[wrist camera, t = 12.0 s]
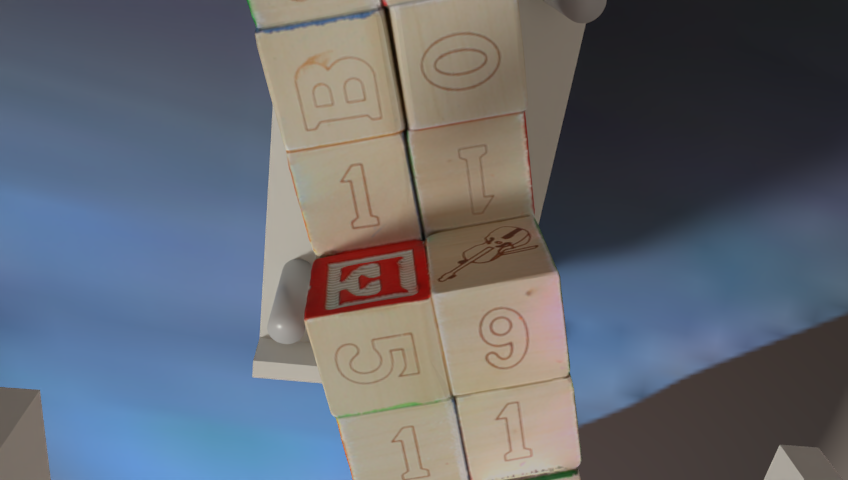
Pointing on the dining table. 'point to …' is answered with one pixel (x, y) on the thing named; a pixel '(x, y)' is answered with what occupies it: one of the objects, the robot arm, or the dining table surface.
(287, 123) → the stack of blocks
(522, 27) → the rack with pegs
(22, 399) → the robot arm
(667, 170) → the dining table surface
